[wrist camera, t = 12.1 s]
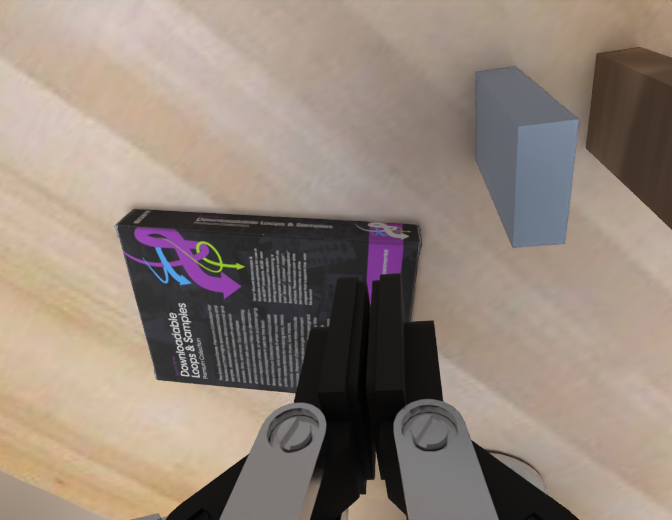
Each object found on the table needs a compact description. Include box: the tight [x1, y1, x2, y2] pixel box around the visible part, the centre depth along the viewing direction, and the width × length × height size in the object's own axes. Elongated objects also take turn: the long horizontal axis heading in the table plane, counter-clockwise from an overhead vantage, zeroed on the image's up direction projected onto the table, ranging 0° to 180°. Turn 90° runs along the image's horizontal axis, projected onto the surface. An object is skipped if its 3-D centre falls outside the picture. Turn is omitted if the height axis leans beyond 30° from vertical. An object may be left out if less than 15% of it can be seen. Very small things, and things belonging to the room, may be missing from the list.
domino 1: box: [476, 66, 579, 248], centre depth 22 cm, size 2×5×10 cm, turn 9°
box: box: [114, 209, 422, 393], centre depth 34 cm, size 14×4×20 cm
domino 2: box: [586, 47, 672, 229], centre depth 21 cm, size 2×5×10 cm, turn 9°
